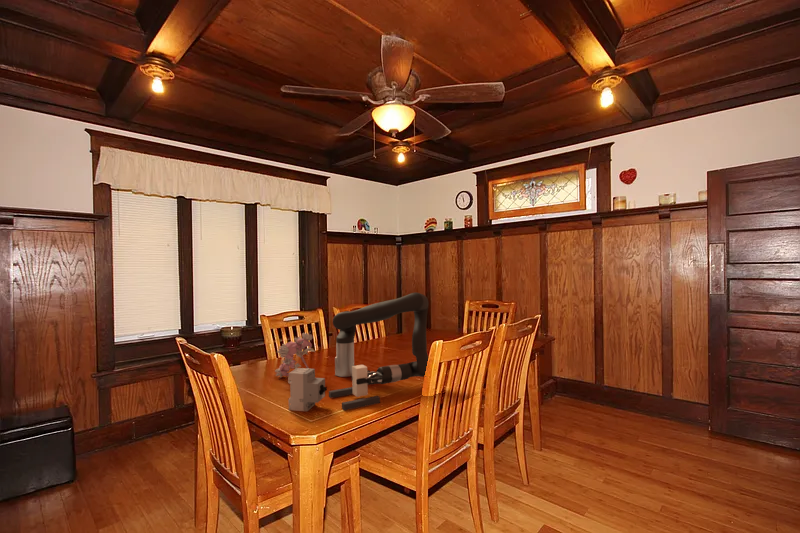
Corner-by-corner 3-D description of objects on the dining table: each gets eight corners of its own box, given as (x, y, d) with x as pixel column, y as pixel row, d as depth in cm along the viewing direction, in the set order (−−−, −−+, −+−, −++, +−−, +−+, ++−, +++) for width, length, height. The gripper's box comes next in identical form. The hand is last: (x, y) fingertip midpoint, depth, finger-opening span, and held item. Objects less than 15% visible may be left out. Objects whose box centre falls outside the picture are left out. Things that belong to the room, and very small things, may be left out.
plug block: (363, 391, 171) (362, 364, 171) (367, 394, 167) (367, 367, 167) (352, 393, 169) (352, 366, 169) (356, 396, 164) (356, 368, 164)
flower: (305, 365, 219) (285, 327, 211) (331, 367, 204) (311, 327, 197) (278, 389, 204) (256, 350, 197) (304, 393, 190) (281, 351, 183)
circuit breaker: (321, 412, 153) (321, 374, 152) (288, 410, 155) (288, 372, 155) (329, 405, 160) (328, 369, 160) (297, 403, 163) (296, 367, 163)
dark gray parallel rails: (362, 390, 178) (362, 385, 178) (380, 403, 162) (380, 397, 162) (328, 396, 171) (328, 391, 171) (344, 410, 154) (343, 404, 154)
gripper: (381, 362, 181) (347, 367, 173) (396, 369, 168) (360, 375, 160) (382, 378, 181) (348, 384, 173) (396, 386, 168) (360, 393, 160)
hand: (354, 380), depth 166 cm, fingers closed on plug block, 5 cm apart
